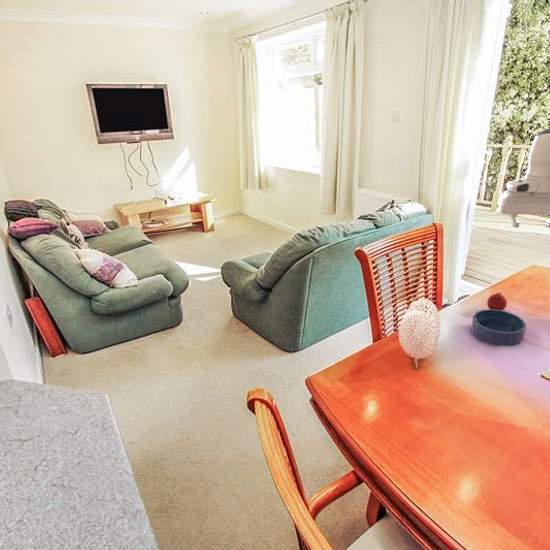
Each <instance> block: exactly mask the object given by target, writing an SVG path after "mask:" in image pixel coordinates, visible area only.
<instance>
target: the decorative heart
mask: <svg viewBox="0 0 550 550" xmlns="http://www.w3.org/2000/svg"><path fill="white" fill-rule="evenodd" d="M402 317H403V318H402V320H401V322H400V324H399V327H398V340H399V344H400V346H401V348H402V350H403V351H404V353H405V354H407V356H409V357H411V358H413V359H414V364H415V369H417V368H418V360H421V359H425V358H427V357H429V356H430V355H432V353H433V352H434V351H435V350H436V348H437V346H438V344H439V340H440V335H441V318H440V313H439V310H438V308H437V306H436V304H434V302H432V300H429V299H427V298H420V299H417V300H416V301H414V302H413V303H412V304H411V305H410V306H409V307H408V308H407V310H406V311H405V313H404V315H403V316H402Z"/></svg>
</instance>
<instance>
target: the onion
mask: <svg viewBox="0 0 550 550" xmlns="http://www.w3.org/2000/svg"><path fill="white" fill-rule="evenodd" d="M507 304H508V301H507V298H506V297H505V296H504V295H502V292H501V291H497V292H495V293H494V294H492V295H490V296H489V297H488V299H487V301H486V305H487V308H488V309H493V310H501V311H505V309H506V308H507Z"/></svg>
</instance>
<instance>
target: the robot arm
mask: <svg viewBox="0 0 550 550" xmlns="http://www.w3.org/2000/svg"><path fill="white" fill-rule="evenodd" d="M498 210H499V212H500V213H501V214H502V215H509V217H510V218H511V220H512V225H511V227H512V228H520V221H519V220H517V219H516V218H518V215H550V128H548V129H547V128H546V129H544V130H541V131H539V132H538V133H537V134H535V137H534V139H533V141H532V145H531V148H530V152H529V155H528V168H527V170H526V171H525V176H524V177H521V178H518V179H514V180H510V181H508V182H506V190H505V191H504V192H503V194H502V195H501V199H500V202H499V206H498ZM544 227H545V228H550V219H549V220H545V224H544Z"/></svg>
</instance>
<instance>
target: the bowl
mask: <svg viewBox="0 0 550 550" xmlns="http://www.w3.org/2000/svg"><path fill="white" fill-rule="evenodd" d="M471 321H472V322H471V327H470V330H471V333H472V335H473V336H474V337H475V338H477V339H479V340H480V341H482V342H483V343H484V342H485V343H486V344H490V345H494V346H500V347H513V346H517V345H520V344H521V343H522V342H523V341H524V337H525V332H526V329H527V323H526V322H525V321H524V319H523V318H521V317H520V316H519V315H516V314H514V313H512V312H509V311H506V310H502V311H501V310H493V309H489V308H488V309H481V310H478V311H476V312H475V313H473V316H472V320H471Z"/></svg>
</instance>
